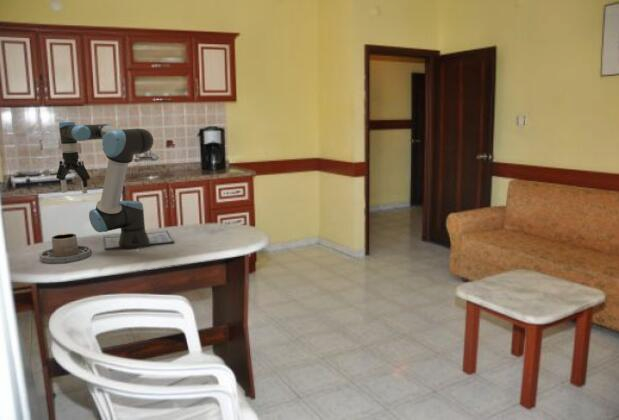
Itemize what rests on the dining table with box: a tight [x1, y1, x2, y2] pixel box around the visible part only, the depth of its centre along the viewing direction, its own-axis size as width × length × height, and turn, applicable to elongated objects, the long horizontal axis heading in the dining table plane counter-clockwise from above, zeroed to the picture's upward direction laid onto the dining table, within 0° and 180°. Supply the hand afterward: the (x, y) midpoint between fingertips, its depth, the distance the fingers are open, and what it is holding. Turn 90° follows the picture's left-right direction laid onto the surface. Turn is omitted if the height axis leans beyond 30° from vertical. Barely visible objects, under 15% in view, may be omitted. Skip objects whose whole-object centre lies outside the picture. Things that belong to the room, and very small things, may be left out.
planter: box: [51, 233, 79, 258], centre depth 248 cm, size 11×11×10 cm
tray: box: [38, 244, 93, 265], centre depth 248 cm, size 22×22×3 cm
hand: (74, 192), depth 269 cm, fingers open, 13 cm apart
